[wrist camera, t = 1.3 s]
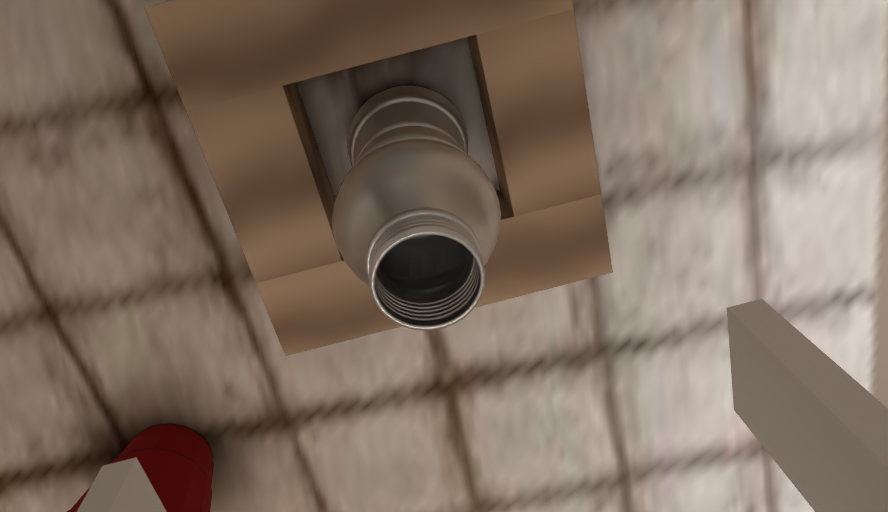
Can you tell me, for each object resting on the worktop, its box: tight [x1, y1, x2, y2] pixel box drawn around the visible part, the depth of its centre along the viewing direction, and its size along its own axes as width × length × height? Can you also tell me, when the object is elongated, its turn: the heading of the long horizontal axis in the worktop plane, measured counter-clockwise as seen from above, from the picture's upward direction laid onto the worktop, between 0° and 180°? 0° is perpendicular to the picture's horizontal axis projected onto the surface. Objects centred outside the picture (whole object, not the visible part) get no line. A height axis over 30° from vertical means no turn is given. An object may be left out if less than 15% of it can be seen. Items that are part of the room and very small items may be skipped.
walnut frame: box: [145, 0, 613, 356], centre depth 37 cm, size 20×20×4 cm
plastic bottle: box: [332, 86, 501, 330], centre depth 30 cm, size 6×7×20 cm
